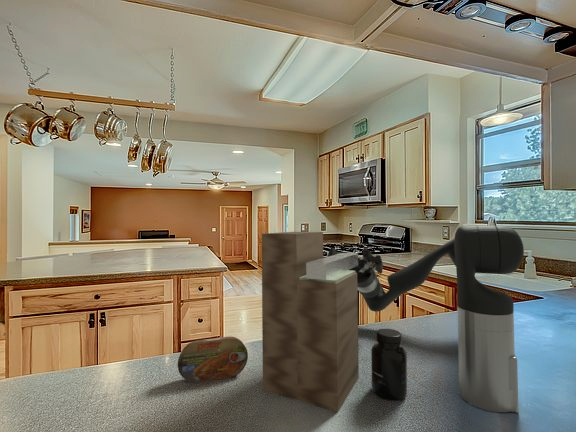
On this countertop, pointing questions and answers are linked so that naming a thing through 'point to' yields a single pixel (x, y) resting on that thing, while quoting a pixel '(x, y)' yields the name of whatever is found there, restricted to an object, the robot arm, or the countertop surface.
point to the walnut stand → (307, 323)
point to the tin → (212, 359)
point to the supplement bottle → (389, 365)
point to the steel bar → (331, 266)
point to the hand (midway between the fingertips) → (347, 251)
